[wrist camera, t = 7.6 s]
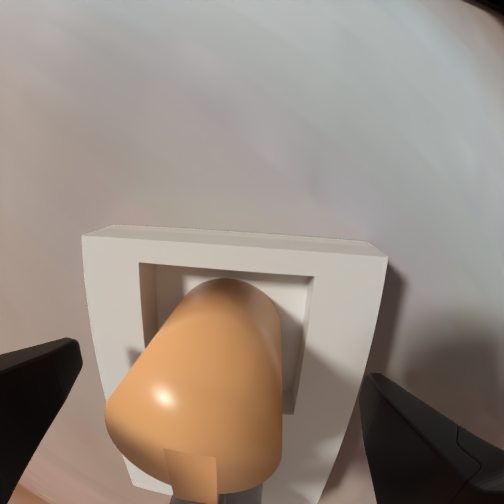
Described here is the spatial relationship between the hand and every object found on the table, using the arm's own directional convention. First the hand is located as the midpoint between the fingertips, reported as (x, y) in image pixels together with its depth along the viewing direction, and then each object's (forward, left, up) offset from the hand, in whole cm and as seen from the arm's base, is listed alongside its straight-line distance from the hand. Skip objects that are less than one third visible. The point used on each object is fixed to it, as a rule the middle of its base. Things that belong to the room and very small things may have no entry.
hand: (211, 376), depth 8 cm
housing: (0, +4, -4) cm, 5 cm away
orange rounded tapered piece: (0, 0, -3) cm, 3 cm away
